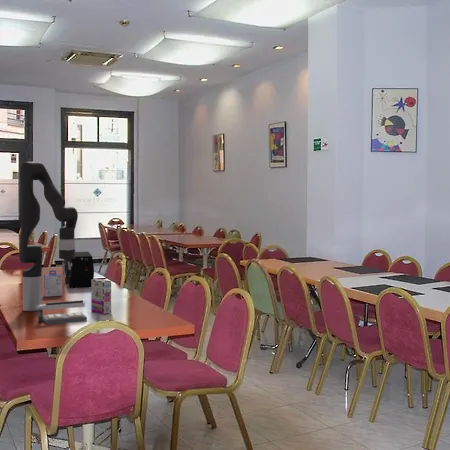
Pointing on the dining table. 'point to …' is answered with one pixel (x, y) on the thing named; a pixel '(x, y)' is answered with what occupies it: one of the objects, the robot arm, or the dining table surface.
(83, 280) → the uninterruptible power supply
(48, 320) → the label panel
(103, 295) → the candy bar box
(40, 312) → the pivot post
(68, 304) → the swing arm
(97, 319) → the dining table surface
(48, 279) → the ink cartridge box
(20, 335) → the dining table surface
